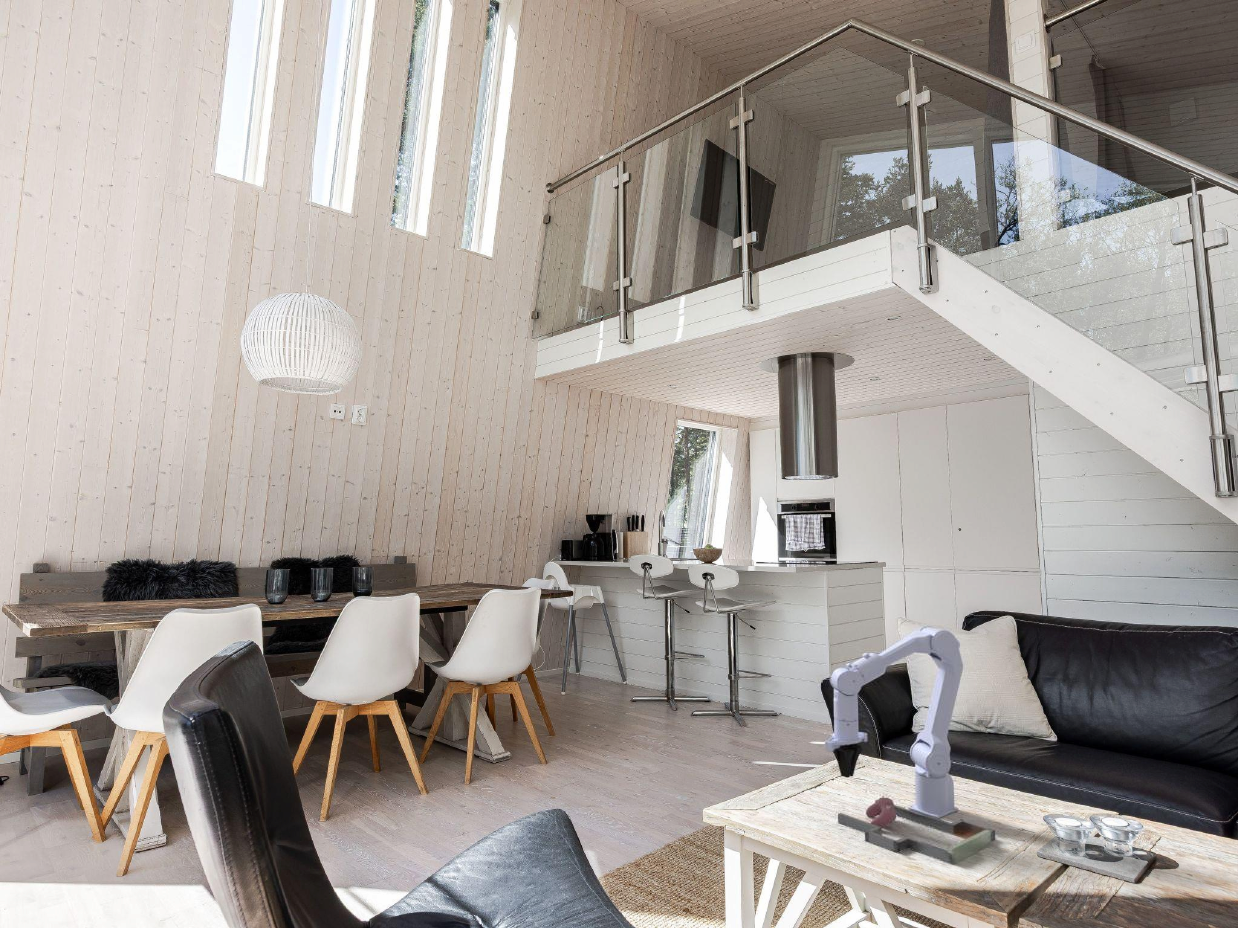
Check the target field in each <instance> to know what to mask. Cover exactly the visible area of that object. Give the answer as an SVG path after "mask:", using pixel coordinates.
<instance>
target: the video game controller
mask: <svg viewBox="0 0 1238 928" xmlns="http://www.w3.org/2000/svg"><path fill="white" fill-rule="evenodd" d="M876 800H877V802H875V801H874V803H873V804H871V805H869V806H868V807H867V809H866V810H865V815H866V816H867V817H868V818H873V819H872V820H871V822H870V823H871V824H873V825H876V826H879V827H882V830H883V829H884V828H887V827H888V825H891V824H892V822H893V821H896V819H897V816H896V815H895V812H896V810H895V809H894V805H895V803H894V801H893V799H891V798H890V797H884V795H882V796H881V797H879V798H878V799H876Z"/></svg>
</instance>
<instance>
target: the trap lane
mask: <svg viewBox="0 0 1238 928" xmlns="http://www.w3.org/2000/svg"><path fill="white" fill-rule="evenodd" d="M877 800H878V799H875V800H874V803H875V802H877ZM894 809H895V810H896V812H895V815H897V816H896V817H899V818H901V817H902V819H904V818H906V819H905V820H908V821H910V820H911V821H912V822H914V821H915V822H914V823H917V824H920V823H921V824H920V825H923V824H924V825H923V826H926V827H929V826H930V827H929V828H932V827H933V829H935V830H938V831H941V830H942V832H944V833H947V832H948V833H947V834H950V833H951V835H953V836H955V837H956V836H957V837H959V838H962V839H963V840H960V841H959V842H957V843H955V844H952V845H950V846H948V847H947V849H945V848H942V847H938V846H936V845H933V844H930V843H927V842H925V841H922V840H919V839H916V838H913V837H910V836H908V835H906V836H903V837H900V838H899V839H893V838H890V837H887V836H885V835H883V829H882V827H879V826H876V825H873V824H871V822H867V821H866V820H865V821H864V820H861V819H859V818H856V817H854V816H850V815H849V814H844V813H842V812H839V813H837V823H838V824H840V825H843V826H846V827H848V826H849V828H851V827H852V828H851V829H854V830H857V831H859V830H860V831H859V832H862V833H864V841H865V842H868V843H870V844H872V843H873V844H872V845H875V844H876V845H875V846H878V847H880V846H882V847H881V848H883V847H885V848H884V849H886V848H887V849H886V850H889V849H890V850H889V851H891V850H894V851H896V852H895V853H897V852H899V853H901V852H902V851H901V850H903V851H905V850H904V849H906V850H907V848H908V849H909V848H910V849H909V850H912V849H913V850H912V851H914V850H916V851H915V852H918V853H920V852H921V854H923V853H924V854H923V855H925V854H926V856H928V855H929V856H928V857H931V856H933V857H932V858H934V859H936V858H937V860H939V859H940V860H939V861H942V862H946V863H948V864H950V863H951V864H950V865H954V864H956V863H958V862H960V861H962V860H965V859H967V858H968V857H970V856H973V855H974V854H976V853H979V852H981V851H983V850H984V849H986V848H989V847H991V846H992V842H993V841H995V840H996V830H995V829H994V828H990V827H987V826H984V825H980V824H977V823H973V822H970V821H968V820H964V819H962V818H959V819H957V820H955V821H953V822H949V821H946V820H942V819H940V818H935V817H932V816H929V815H926V814H923V813H920V812H917V811H913V810H910V809H907V808H905V807H902V806H899V805H895V804H894ZM894 851H893V852H894ZM900 851H901V852H900Z"/></svg>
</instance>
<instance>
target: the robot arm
mask: <svg viewBox="0 0 1238 928" xmlns="http://www.w3.org/2000/svg"><path fill="white" fill-rule="evenodd" d="M960 646H961V643H960V641H959V640H958V638H957V637H956V636H955V635H954V634H953V633H952V632H951V631H949V630H944V629H939V628H936V627H933V626H930V625H924V626H922V627H921V628H919V629H916V630H914V631H912V632H910V634H908V635H907V636H906V637H904V638H902V639H901V640H899V641H898V642H896V643H894V644H893V645H891V646H890V647H888V648H886V649H885V650H883V651H882V652H879V653H878V654H877V653H876V652H875V653H874V652H870V653H868V652H865V653H863V654H862V655H861V656H862V657H861V658H859V659H857V660H855V661H853V662H852V663H849V662H848V663H846V664H845V666H846V667H839V668H836V669H834V671H833V673H832V674H831V676H830V678H829V683H830V685H831V687H832V688H833V729H834V730H833V733H831V734H830V738H829V739H827V740H824V750H826V751H829V752H832V753H833V756H834V757H835V759H836V761H837V764H838V769H839V773H840V776H841V777H844V778H850V777H854V774H855V769H856V766H857V761H858V759H859V756H860V755H861V753H862V751H863V746H862V745H859V744H858V743H862V742H864V743H867V742H868V733H867V732H863V731H859V706H858V705H859V701H858V694H859V692H860V691H861V690H862V687H863V686H864V685H866V684H868V683H870V682H873V681H874V680H875V679H877V678H879V677H881V676H882V675H884V674H885V673H886V669H887V668H888V667H889V666H890V665H893V664H895V663H896V662H899V661H900V660H903V659H905V658H906V657H909V656H911V655H913V654H917V653H918V654H927V655H928V656H930V658H931V659H932V660H933V662H934V663H935V664H936V666H937V673H936V678H935V681H934V686H933V690H932V693H931V699H930V701H929V705H928V706H929V707H928V711H927V715H926V719H925V723H924V728H923V729H922V730H921V731H920V732H919V733H917V736H916V739H915V740H914V743H913V744H912V745H911V747H910V750H909V756H910V759H911V760H912V762H913V763H914V787H915V788H914V789H915V790H914V791H915V792H914V793H915V795H914V796H915V803H914V804H912V805H909V806H907V807H908V809H909V810H912V811H915V812H918V813H921V814H924V815H927V816H930V817H934V818H937V819H940V818H942V817H945V816H947V815H949V814H951V813H954V812H956V811H958V810H959V808H958V807H956V806H955V788H954V787H955V785H954V780H953V777H952V776H951V774H950V773H949V772H950V769H951V766H952V765H951V764H952V762H951V757H950V755H951V754H950V753H951V745H950V742H949V741H948V735H949V730H950V725H951V721H952V717H953V714H954V713H953V712H954V708H955V703H956V699H957V695H958V691H959V688H960V684H961V683H960V682H961V680H962V673H963V670H964V664H963V660H962V654H961V651H960Z"/></svg>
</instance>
